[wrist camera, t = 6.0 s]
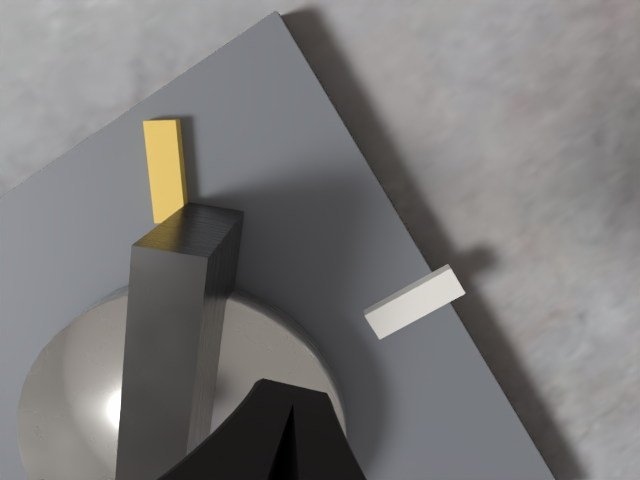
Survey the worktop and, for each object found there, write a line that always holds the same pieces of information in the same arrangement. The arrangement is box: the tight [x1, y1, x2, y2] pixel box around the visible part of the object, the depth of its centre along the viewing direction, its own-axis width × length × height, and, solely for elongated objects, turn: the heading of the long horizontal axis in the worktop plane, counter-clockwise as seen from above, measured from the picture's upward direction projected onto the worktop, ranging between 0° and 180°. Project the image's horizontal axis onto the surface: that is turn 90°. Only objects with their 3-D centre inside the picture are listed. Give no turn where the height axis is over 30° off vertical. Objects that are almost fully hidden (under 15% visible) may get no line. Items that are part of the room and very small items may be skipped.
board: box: [0, 11, 556, 480], centre depth 20 cm, size 20×21×2 cm
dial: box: [17, 202, 346, 480], centre depth 17 cm, size 14×11×5 cm
